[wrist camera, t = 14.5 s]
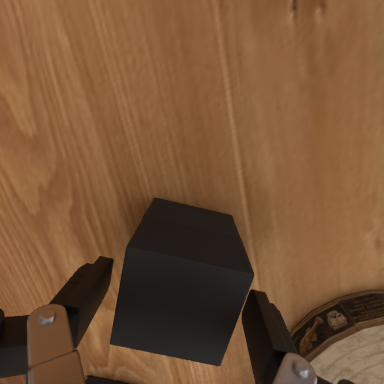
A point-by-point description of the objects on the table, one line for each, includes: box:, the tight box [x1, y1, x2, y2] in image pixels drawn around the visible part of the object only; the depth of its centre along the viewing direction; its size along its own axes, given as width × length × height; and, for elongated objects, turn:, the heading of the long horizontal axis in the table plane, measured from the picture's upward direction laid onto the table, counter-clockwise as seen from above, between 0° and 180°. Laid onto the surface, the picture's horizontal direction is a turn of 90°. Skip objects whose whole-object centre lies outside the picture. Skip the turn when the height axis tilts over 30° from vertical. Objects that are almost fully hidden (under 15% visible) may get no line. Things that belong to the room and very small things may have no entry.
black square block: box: [143, 198, 240, 238], centre depth 16 cm, size 6×6×4 cm
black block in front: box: [110, 216, 254, 366], centre depth 13 cm, size 6×6×4 cm
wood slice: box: [290, 290, 384, 384], centre depth 19 cm, size 16×16×3 cm
